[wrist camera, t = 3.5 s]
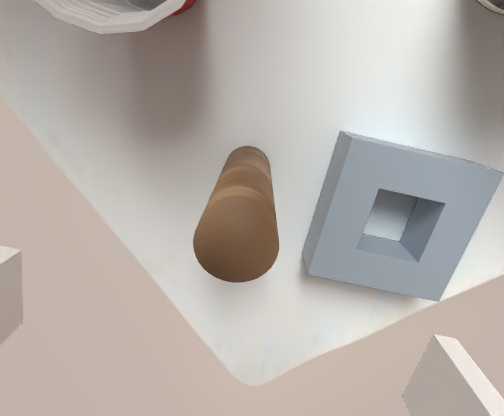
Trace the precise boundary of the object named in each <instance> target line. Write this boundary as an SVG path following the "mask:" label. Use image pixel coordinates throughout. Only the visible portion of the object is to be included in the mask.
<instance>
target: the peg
mask: <svg viewBox="0 0 504 416" xmlns="http://www.w3.org/2000/svg"><path fill="white" fill-rule="evenodd" d="M193 247H194V252H195V255H196V257H197V259H198V261H199V263H200V264H201V266H202V267H203V268H204V269H205V270H206V271H207V272H208V273H210V274H211V275H213V276H214V277H216V278H219V279H221V280H224V281H228V282H246V281H250V280H254V279H256V278H258V277H260V276H262V275H263V274H264V273H266V272H267V271H268V270H269V269H270V268H271V267H272V265H273V264H274V262H275V260H276V258H277V255H278V251H279V238H278V230H277V222H276V213H275V205H274V196H273V188H272V180H271V171H270V164H269V161H268V158H267V157H266V155H265V154H264V153H263V152H262V151H261V150H259V149H257V148H255V147H251V146H244V147H240V148H238V149H236V150H234V151H233V152H232V153H231V154H230V155H229V157H228V158H227V161H226V163H225V165H224V167H223V170H222V172H221V174H220V176H219V179H218V181H217V183H216V185H215V188H214V190H213V192H212V194H211V197H210V199H209V201H208V203H207V206H206V208H205V210H204V212H203V215H202V217H201V219H200V221H199V224H198V226H197V228H196V231H195V234H194V239H193Z"/></svg>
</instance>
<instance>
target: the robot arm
mask: <svg viewBox="0 0 504 416" xmlns="http://www.w3.org/2000/svg"><path fill="white" fill-rule="evenodd" d="M22 305H23V304H22V259H21V250H19V249H14V248H8V247H4V246H0V345H1V344H2V343H3V342H4V341H5V340H6V339H7V338H8V337H9V336H10V335H11V334H12V333H13V332H14V331H15V330H16V329H17V328H18V327H19V326H20V325H21V324H22V323H23V306H22ZM402 398H403V400H404V402H405V404H406V406H407V408H408V411H409V413H410V415H411V416H504V400H503V398H502V397H501V396H500V394H499V393H498V392H497V391H496V389H495V388H494V387H493V385H492V384H491V383H490V382H489V380H488V379H487V378H486V377H485V375H484V374H483V373H482V371H481V370H480V369H479V367H478V366H477V365H476V364H475V362H474V361H473V360H472V359H471V357H470V356H469V355H468V354H467V352H466V351H465V350H464V348H463V347H462V346H461V345H460V343H459V342H458V341H457V340H456V339H455V338H450V337H445V336H440V335H435V334H433V336H432V338H431V340H430V342H429V344H428V346H427V348H426V350H425V352H424V354H423V356H422V358H421V360H420V362H419V363H418V366H417V367H416V369H415V371H414V373H413V375H412V377H411V379H410V381H409V383H408V385H407V387H406V389H405V391H404V393H403V394H402Z"/></svg>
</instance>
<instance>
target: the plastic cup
mask: <svg viewBox="0 0 504 416" xmlns="http://www.w3.org/2000/svg"><path fill="white" fill-rule="evenodd" d="M34 1H35V2H37V3H38V4H39V5H40V6H41V7H43V8H44V9H45V10H46V11H47V12H49V13H50V14H51V15H52V16H53V17H55V18H56V19H59V20H62V21H64V22H67V23H70V24H73V25H75V26H78V27H81V28H84V29H87V30H89V31H92V32H95V33H98V34H112V33H124V32H136V31H144V30H146V29H147V28H149V27H150V26H152V25H154V24H155V23H157V22H159V21H160V20H162V19H163V18H165V17H167V16H168V15H178V14H180V13H182V12H183V11H185V10H187V9H188V8H190V7H192V5H193V4H194V3H195V1H196V0H34Z"/></svg>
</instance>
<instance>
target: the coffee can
mask: <svg viewBox="0 0 504 416" xmlns="http://www.w3.org/2000/svg"><path fill="white" fill-rule="evenodd" d="M478 1H479V2H480V3H481V4H482V5H484V6H485V7H487V8H488V9H490V10H492V11H494V12H497V13H500V14H503V15H504V0H478Z"/></svg>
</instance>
